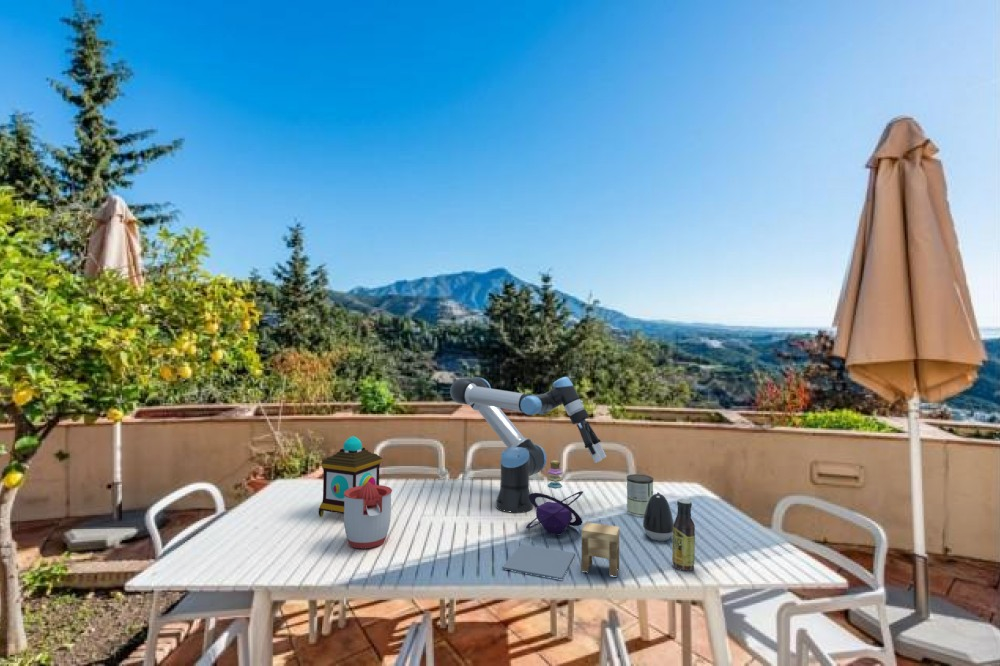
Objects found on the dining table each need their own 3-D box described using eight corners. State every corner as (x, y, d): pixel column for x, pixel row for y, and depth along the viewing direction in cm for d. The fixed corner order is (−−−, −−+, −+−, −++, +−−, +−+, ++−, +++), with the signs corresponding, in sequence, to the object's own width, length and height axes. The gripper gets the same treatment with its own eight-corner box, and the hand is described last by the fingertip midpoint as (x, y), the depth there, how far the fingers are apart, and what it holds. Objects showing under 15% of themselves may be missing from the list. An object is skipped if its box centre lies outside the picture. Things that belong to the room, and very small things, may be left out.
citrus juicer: (347, 558, 145) (349, 492, 146) (338, 538, 161) (340, 478, 162) (397, 549, 153) (399, 486, 153) (384, 530, 168) (385, 473, 169)
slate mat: (502, 569, 139) (502, 566, 139) (521, 546, 156) (521, 544, 156) (562, 580, 132) (562, 577, 132) (575, 555, 149) (575, 552, 149)
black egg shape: (673, 534, 167) (673, 491, 168) (674, 545, 158) (674, 499, 158) (643, 530, 171) (643, 488, 171) (642, 541, 161) (642, 496, 161)
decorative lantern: (312, 517, 180) (314, 438, 182) (347, 502, 199) (349, 430, 200) (355, 525, 173) (357, 442, 174) (387, 509, 191) (388, 434, 192)
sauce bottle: (668, 562, 145) (668, 497, 145) (688, 562, 145) (688, 496, 146) (678, 572, 138) (678, 503, 139) (699, 572, 139) (698, 503, 139)
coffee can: (624, 508, 196) (624, 473, 197) (650, 509, 195) (650, 474, 195) (629, 516, 186) (629, 480, 186) (656, 517, 185) (655, 481, 185)
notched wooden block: (581, 571, 138) (581, 530, 138) (585, 562, 145) (586, 522, 145) (616, 578, 134) (616, 535, 135) (619, 567, 141) (619, 526, 142)
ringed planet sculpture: (596, 531, 170) (597, 461, 171) (565, 549, 154) (565, 471, 155) (545, 516, 184) (545, 452, 185) (511, 532, 168) (512, 461, 169)
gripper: (578, 408, 185) (605, 459, 179) (589, 408, 208) (613, 453, 202) (562, 416, 187) (587, 467, 180) (575, 415, 210) (597, 460, 203)
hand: (601, 460), depth 191 cm, fingers open, 13 cm apart
